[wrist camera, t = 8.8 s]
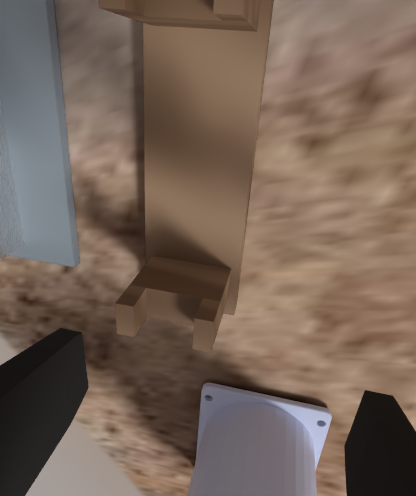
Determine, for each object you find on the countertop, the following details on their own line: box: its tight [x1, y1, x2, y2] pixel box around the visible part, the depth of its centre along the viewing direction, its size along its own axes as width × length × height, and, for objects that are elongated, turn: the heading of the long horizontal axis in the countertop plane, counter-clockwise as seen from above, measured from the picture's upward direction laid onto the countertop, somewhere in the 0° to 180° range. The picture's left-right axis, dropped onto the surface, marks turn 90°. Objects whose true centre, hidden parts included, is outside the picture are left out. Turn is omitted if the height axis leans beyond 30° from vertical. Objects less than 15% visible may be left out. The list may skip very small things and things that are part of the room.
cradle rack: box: [99, 0, 274, 353], centre depth 15 cm, size 16×5×6 cm, turn 176°
